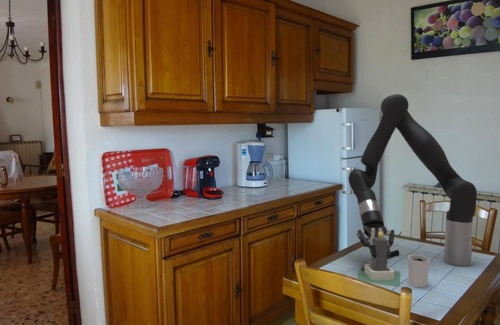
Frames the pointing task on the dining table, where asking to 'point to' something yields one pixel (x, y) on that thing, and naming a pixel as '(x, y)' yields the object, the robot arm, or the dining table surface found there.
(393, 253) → the electric trimmer
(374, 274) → the socket
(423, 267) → the grey cup
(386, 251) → the plug
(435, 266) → the dining table surface
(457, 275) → the dining table surface
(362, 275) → the circuit board
